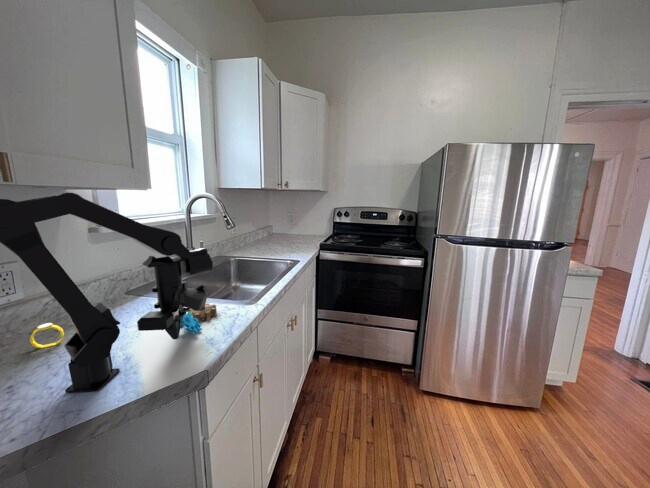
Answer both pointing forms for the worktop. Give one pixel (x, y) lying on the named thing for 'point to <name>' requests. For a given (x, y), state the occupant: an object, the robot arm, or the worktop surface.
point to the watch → (43, 327)
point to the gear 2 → (204, 312)
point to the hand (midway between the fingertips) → (175, 338)
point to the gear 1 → (190, 323)
